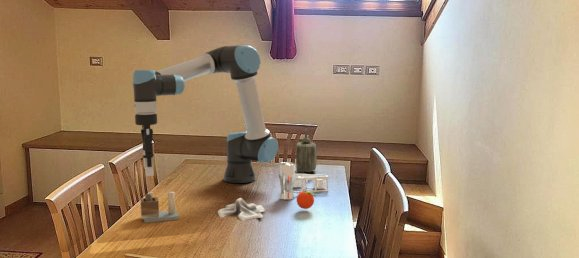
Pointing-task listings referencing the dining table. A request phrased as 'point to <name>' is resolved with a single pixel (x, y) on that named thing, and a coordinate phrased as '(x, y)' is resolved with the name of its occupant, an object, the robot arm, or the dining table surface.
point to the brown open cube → (149, 208)
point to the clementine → (305, 199)
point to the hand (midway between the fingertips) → (148, 171)
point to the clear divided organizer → (317, 182)
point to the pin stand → (164, 215)
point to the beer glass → (286, 180)
